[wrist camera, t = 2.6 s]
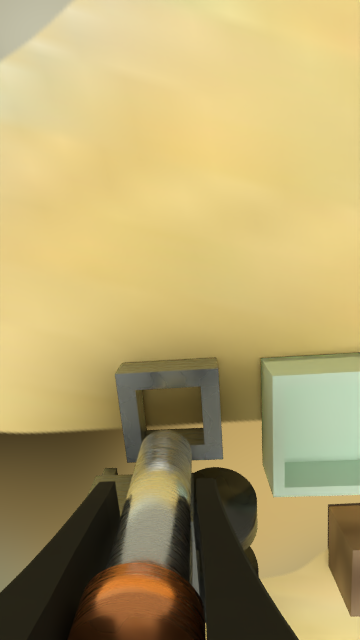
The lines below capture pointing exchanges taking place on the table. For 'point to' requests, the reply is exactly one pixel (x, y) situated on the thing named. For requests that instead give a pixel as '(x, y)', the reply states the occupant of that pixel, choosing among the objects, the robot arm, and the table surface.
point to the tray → (311, 424)
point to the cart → (235, 501)
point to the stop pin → (148, 556)
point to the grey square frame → (171, 376)
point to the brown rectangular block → (345, 552)
